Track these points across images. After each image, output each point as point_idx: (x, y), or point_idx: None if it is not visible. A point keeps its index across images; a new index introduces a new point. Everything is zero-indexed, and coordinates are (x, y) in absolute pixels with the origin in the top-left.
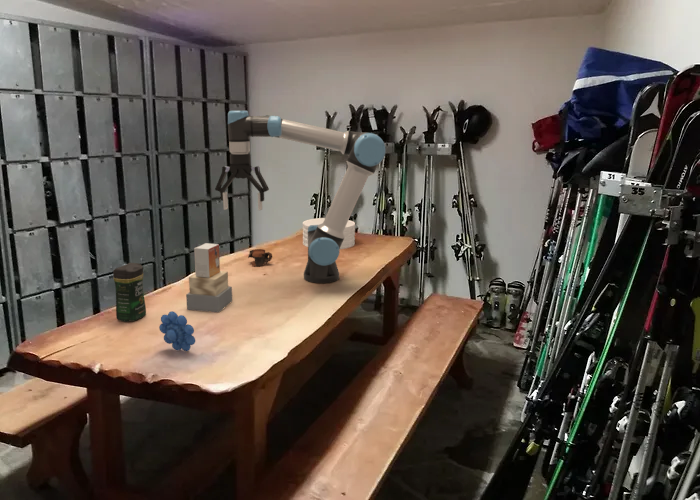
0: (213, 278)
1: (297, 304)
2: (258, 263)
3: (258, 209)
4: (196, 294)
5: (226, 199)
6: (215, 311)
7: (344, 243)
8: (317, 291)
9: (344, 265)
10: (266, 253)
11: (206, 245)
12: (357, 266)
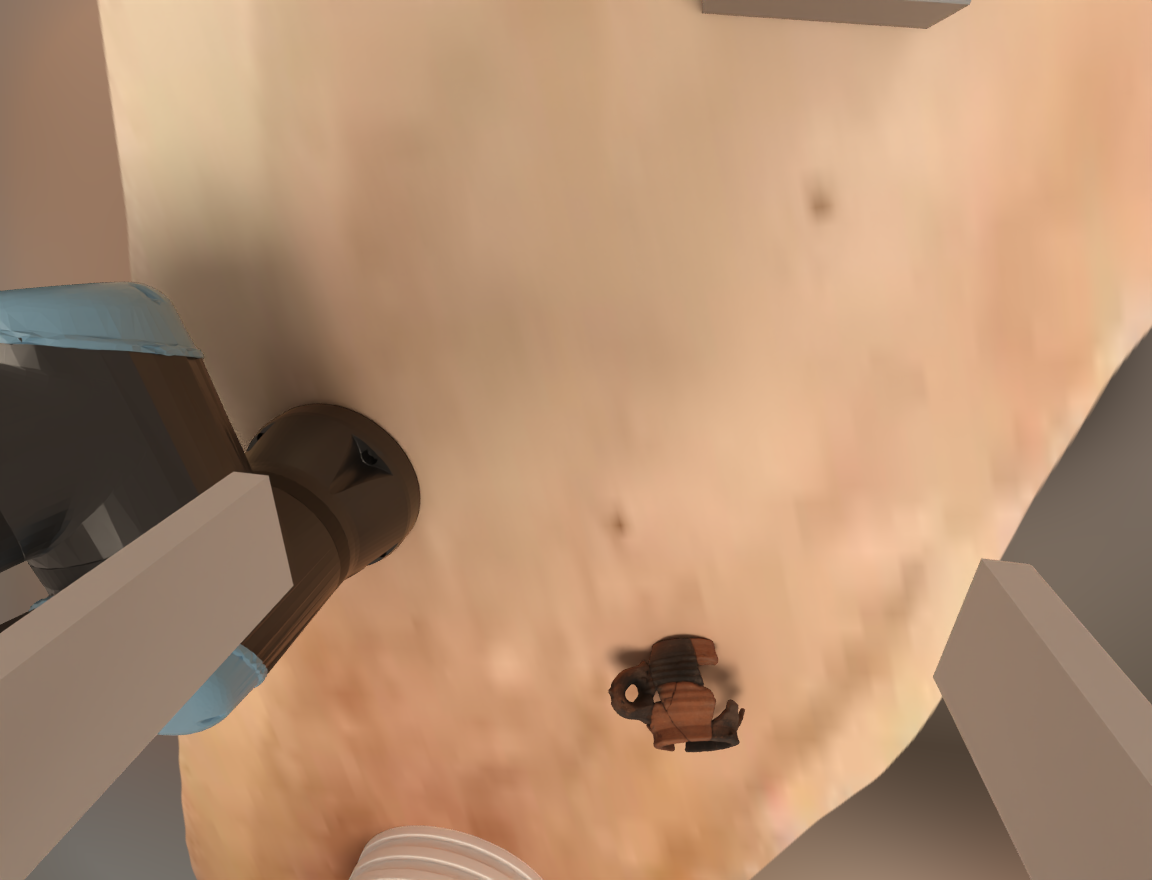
0: None
1: (307, 27)
2: (677, 649)
3: (254, 483)
4: None
5: (1077, 848)
6: None
7: (370, 854)
8: (288, 278)
9: (309, 646)
10: (637, 706)
11: None
12: None
